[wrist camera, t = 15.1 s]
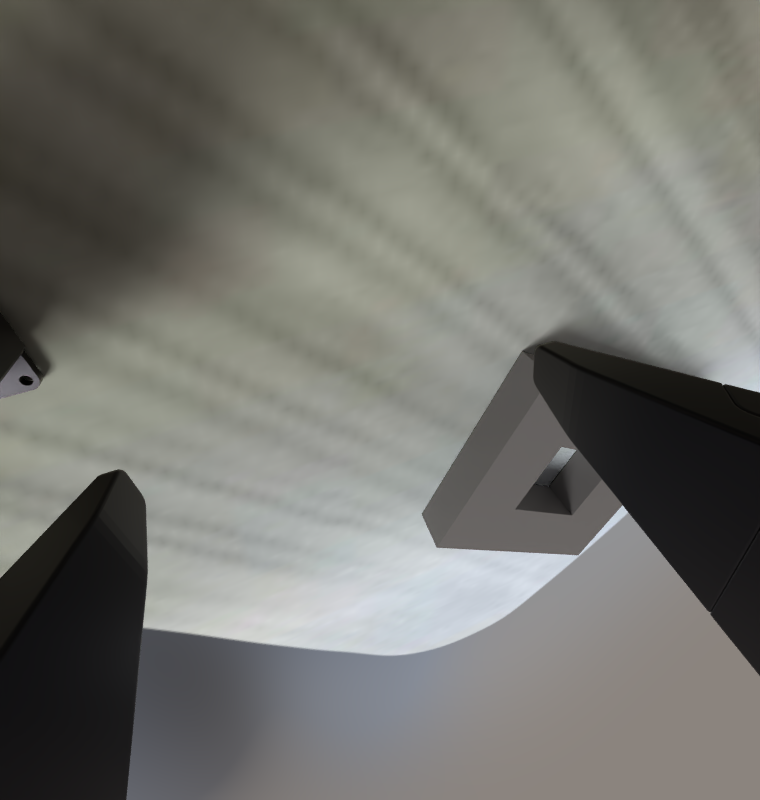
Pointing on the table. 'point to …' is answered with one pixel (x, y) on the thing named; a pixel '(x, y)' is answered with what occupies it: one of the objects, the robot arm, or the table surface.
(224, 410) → the table surface
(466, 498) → the grey square socket base
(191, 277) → the table surface
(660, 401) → the robot arm
